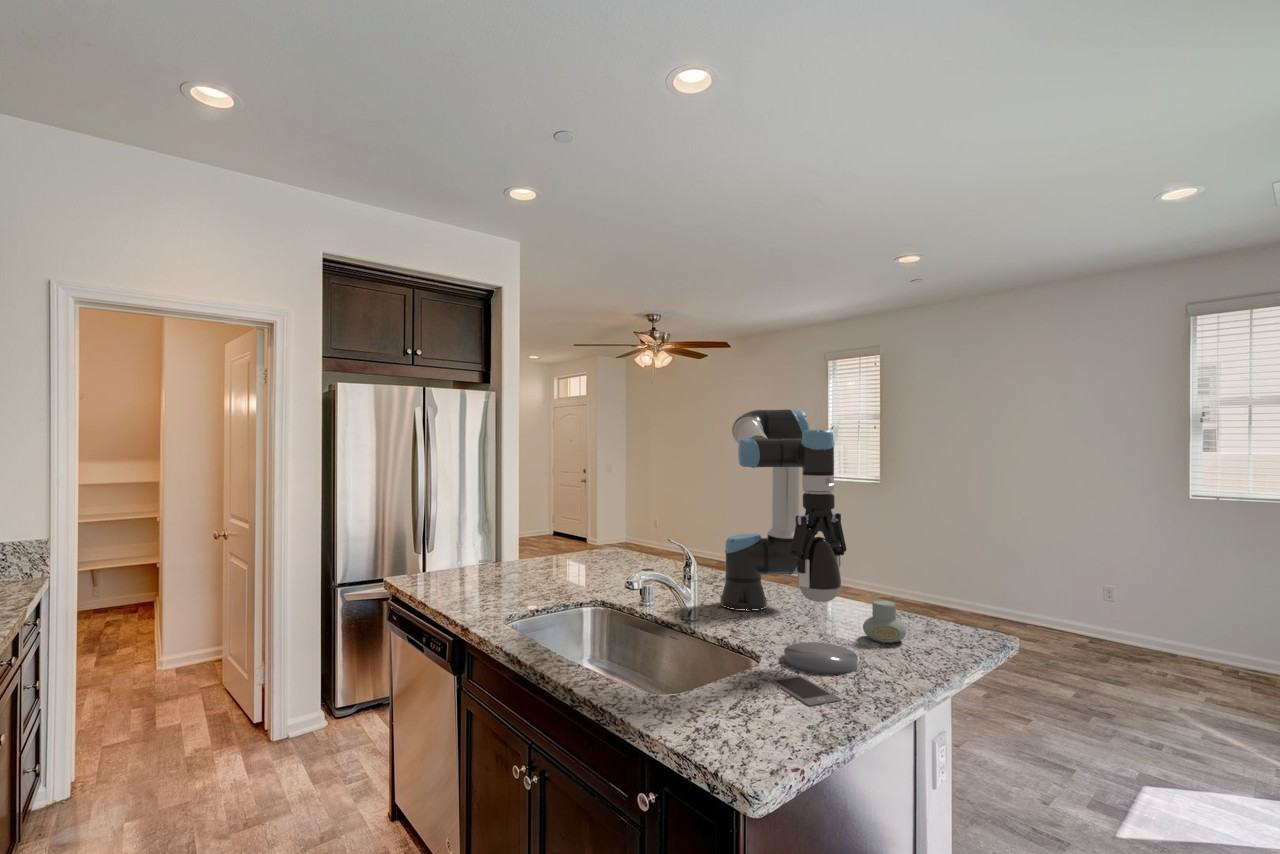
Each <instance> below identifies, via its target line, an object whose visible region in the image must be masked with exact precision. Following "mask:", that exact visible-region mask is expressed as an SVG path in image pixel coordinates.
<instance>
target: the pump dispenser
mask: <svg viewBox="0 0 1280 854" xmlns="http://www.w3.org/2000/svg"><path fill="white" fill-rule="evenodd" d="M839 544H841V542H840V540H837V541H834V542H831V543H829V542H828V541H827V540H826V539H825V537H821V536H815V537H814V540H813V542H812V545H811V548H810V550H809V553H808V556H807V558H806V559H807V560H809V582H810V587H809V588H806V587H802V586H799V573H798V574H797V585H798V586H799V589H800V592H801V594H802V595H803V596H804V597H805V599H807V600H809V601H812V602H817V603H827V602H830V601H833V600H834V599H835V598H837V596H838V594H839V592H840V588H841V587H842V579H841V572H840V570H839V566H838V562H837V559H836V556H835V553H834V551H833V549H832V548H833V547H835V546H837V545H839Z"/></svg>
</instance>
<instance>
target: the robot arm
mask: <svg viewBox="0 0 1280 854" xmlns="http://www.w3.org/2000/svg"><path fill="white" fill-rule="evenodd" d="M731 431H732V432H731V433H732V437H733V439H734V441H735V442H736V443H737V444H738V448H737V449H738V453H737V454H738V455H737V456H738V458H737V459H738V463H739V465H740V466H741V467H743V468H752V469H755V468H772V495H771V496H772V504H771V505H772V506H771V507H772V509H771V512H772V513H771V515H772V517H771V518H772V522H771V526H772V527H771V528H770V529H769V530H768V531H767V537H765V538H764V537H762V536H761V533H757V532H755V533H753V532H752V533H750V532H749V533H741V534H735V535H730V536H729V537H727V539H726V540H725V548H724V549H725V550H724V554H725V582H724V586H723V590H722V594H721V595H720V599H719V600H720V603H721V604H722V605H723V606H726V607H729V608H734V609H745V610H746V609H747V610H752V609H761V608H764V607H766V606H767V607H768V605H767V604H768V599H767V597H766V595H765V594H766V593H765V591H764V588H763V584H762V575H788V576H792V575H798V573H799V585H798V586H802V587H806V588H809V587H810V582H809V560H807V559H806V558H807V556H808V553H809V550H810V548H811V545H812V542H813V540H814V537H816V536H817V535H818V533H819V532H821V533H822V534H823V538H825V539H826V540H827V541H828V542H829V543H831V542H834V541H837V540H840V542H841V544H839V545H837V546H835V547H833V548H832V549H833V551H834V553H835V556H836V559H837V562H838V566H839V570H840V568H841V556H845V552H846V551H847V546H846V545H847V544H846V540H845V536H844V530H843V527H842V515H841V513H837V512H832V510H834V509H835V507H836V506H835V505H836V504H835V495H834V493H832V492H834V491H835V440H834V432H833V431H832V430H830V429H810V423H809V420H808V417H807V414H806V413H805V411H803V410H800V409H790V408H789V409H754V410H751V411H748V412H745V413H744V414H742V415H740V416H738V418H736V420H735V421H734V423H733V424H732V428H731ZM800 468H802V474H801V475H802V477H801V478H802V481H801V482H802V491H803V492H804V493H803V494H802V507H803V509H805V513H804V515H800ZM720 603H719V604H720ZM767 607H766V608H767Z"/></svg>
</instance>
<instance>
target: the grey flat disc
mask: <svg viewBox="0 0 1280 854" xmlns="http://www.w3.org/2000/svg"><path fill="white" fill-rule="evenodd" d="M783 653H784V655H783V656H784V661H786V662H787V663H788V664H789V666H790V667H792V668H793V669H796V668H797V669H796V670H800V671H802V670H803V672H806V671H807V673H812V674H817V675H843V674H848V673H853V672H854V671H855V670H856V669H858V655H857V653H856V652H854V651H853V650H852V649H850V648H846V647H844V646H840V645H837V644H831V643H828V642H827V643H825V642H817V641H816V642H813V641H812V642H809V641H808V642H798V643H797V642H796V643H793V644H790V645H787V646H786V647H785V648H784V651H783ZM786 662H785V663H786ZM787 663H786V664H787ZM788 664H787V665H788Z"/></svg>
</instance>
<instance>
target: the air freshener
mask: <svg viewBox="0 0 1280 854" xmlns="http://www.w3.org/2000/svg"><path fill="white" fill-rule="evenodd" d="M896 605H897V604H895V603H894V602H893V601H889V600H875V601H873V602H872V616H870V617H868V618H867V619H865V621H863V624H862V630H863V632H864V634H865V635H866V636H867V637H868V638H870V639H871V640H873V641H875V642H878V643H881V644H885V643H890V644H894V643H897V642H900V641H901V640H903V639H904V638H905V637H906V635H907V628H906V626H905V625H904V622H902V621H900V620H899V619H897V606H896Z"/></svg>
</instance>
